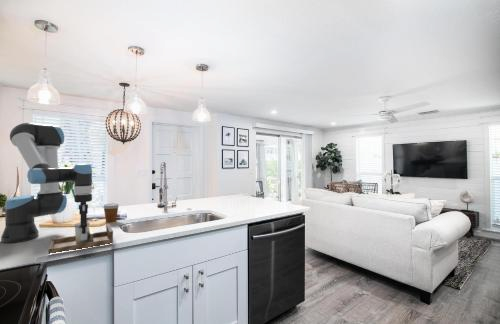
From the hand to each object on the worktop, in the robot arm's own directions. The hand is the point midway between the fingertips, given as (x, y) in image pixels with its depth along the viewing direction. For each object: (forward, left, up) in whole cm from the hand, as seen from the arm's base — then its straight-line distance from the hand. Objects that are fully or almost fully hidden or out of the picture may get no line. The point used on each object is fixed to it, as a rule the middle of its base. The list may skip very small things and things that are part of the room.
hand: (83, 237), depth 126 cm
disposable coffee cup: (+17, +42, -4) cm, 45 cm away
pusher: (+3, 0, -2) cm, 4 cm away
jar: (0, 0, -3) cm, 3 cm away
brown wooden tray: (0, 0, -4) cm, 4 cm away
